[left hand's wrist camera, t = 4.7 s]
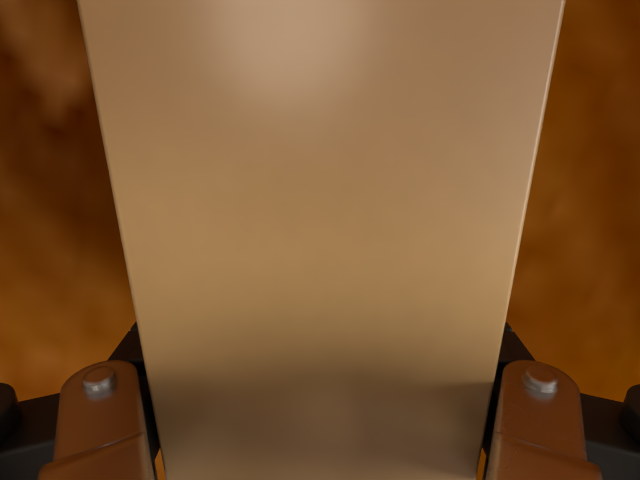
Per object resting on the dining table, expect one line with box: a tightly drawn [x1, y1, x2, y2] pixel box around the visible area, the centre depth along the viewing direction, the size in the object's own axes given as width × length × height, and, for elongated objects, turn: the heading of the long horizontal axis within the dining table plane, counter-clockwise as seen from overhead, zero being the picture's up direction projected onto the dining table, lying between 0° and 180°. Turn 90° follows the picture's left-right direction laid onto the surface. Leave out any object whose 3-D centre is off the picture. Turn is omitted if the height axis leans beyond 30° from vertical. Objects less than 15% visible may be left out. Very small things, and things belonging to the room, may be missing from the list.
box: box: [77, 0, 566, 480], centre depth 10 cm, size 20×6×11 cm, turn 0°
